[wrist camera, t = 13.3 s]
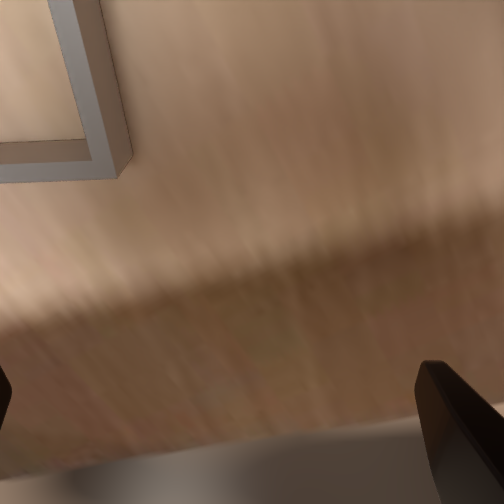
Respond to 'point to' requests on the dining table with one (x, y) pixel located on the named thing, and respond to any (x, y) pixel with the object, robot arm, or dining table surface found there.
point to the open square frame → (88, 103)
